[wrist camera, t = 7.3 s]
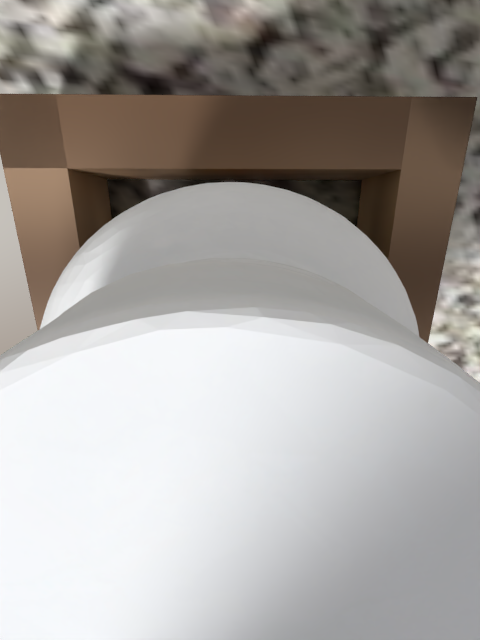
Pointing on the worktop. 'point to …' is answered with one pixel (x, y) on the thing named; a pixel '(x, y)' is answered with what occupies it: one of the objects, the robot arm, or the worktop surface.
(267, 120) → the wooden u-shaped bracket
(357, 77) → the worktop surface
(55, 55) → the worktop surface
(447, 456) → the supplement bottle
